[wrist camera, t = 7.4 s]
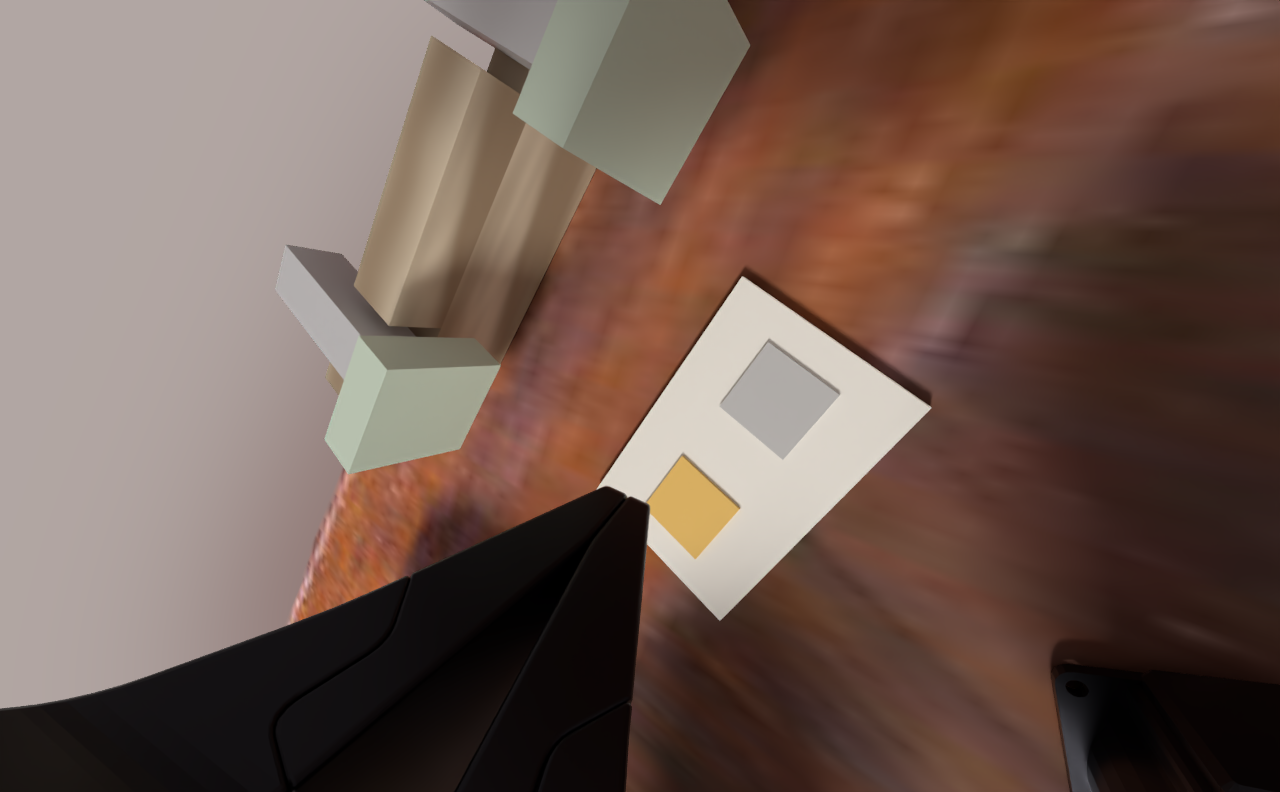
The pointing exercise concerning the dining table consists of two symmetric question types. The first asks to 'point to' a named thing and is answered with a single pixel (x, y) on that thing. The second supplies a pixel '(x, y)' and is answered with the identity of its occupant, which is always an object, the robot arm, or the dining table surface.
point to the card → (756, 444)
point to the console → (467, 207)
